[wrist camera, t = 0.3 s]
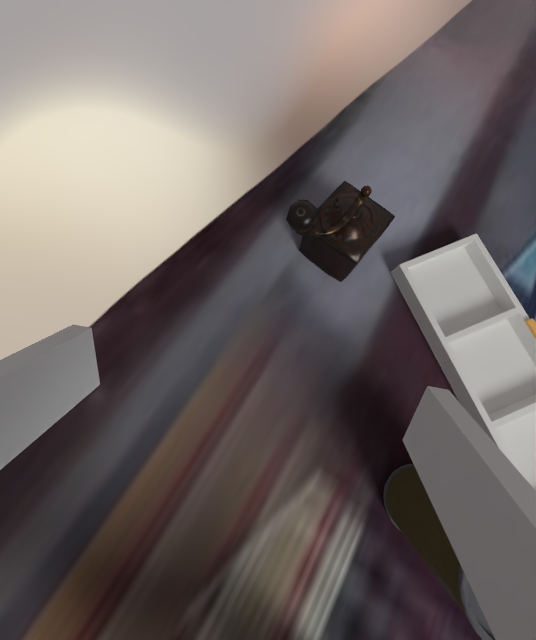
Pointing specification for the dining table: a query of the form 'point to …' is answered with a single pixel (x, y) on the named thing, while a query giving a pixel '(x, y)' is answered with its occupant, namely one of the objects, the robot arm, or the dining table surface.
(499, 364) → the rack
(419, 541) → the canister
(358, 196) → the pepper mill
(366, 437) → the dining table surface
